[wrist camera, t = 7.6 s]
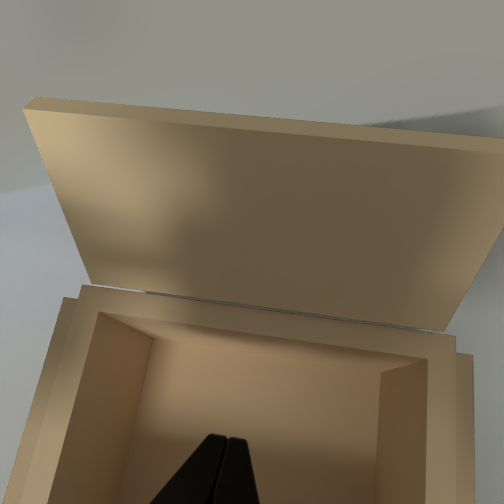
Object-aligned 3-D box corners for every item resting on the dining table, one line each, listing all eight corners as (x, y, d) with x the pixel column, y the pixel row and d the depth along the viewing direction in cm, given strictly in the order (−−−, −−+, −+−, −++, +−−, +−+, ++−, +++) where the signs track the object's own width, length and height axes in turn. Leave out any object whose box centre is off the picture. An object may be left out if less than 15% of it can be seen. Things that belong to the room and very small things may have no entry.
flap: (543, 157, 8) (535, 141, 9) (22, 108, 10) (36, 96, 10) (443, 331, 13) (440, 315, 13) (91, 283, 14) (99, 270, 14)
